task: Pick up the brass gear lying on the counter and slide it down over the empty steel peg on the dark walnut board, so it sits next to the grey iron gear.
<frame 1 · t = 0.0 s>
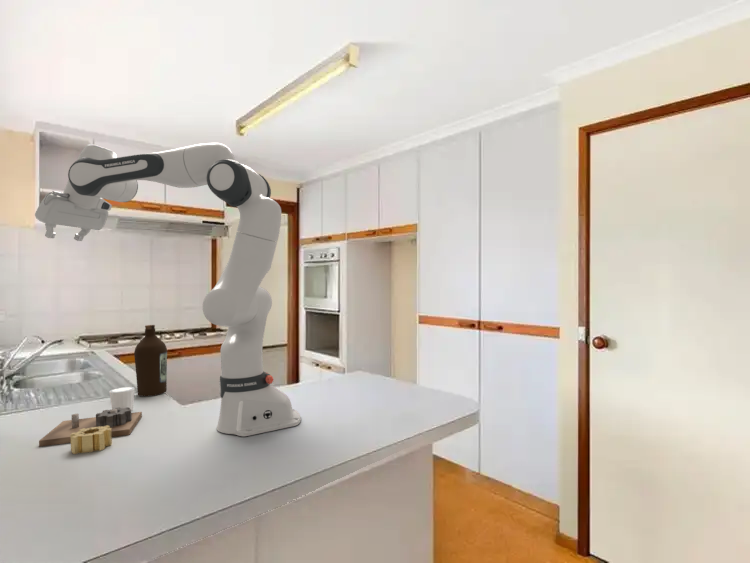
hand: (63, 238, 125), 54 cm above the countertop, tool tilted 30°, fingers open, 8 cm apart
gear board: (95, 430, 116), on the countertop
white short cylinder: (122, 411, 133), on the countertop
brass gear: (91, 447, 103), on the countertop
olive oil: (152, 393, 154), on the countertop
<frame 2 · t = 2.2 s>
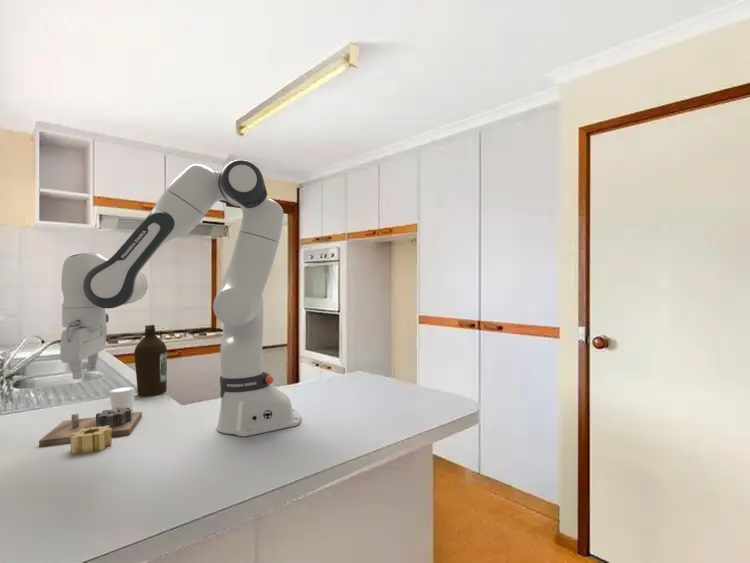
hand: (85, 374, 104), 18 cm above the countertop, tool pointing down, fingers open, 8 cm apart
nothing on the countertop moved.
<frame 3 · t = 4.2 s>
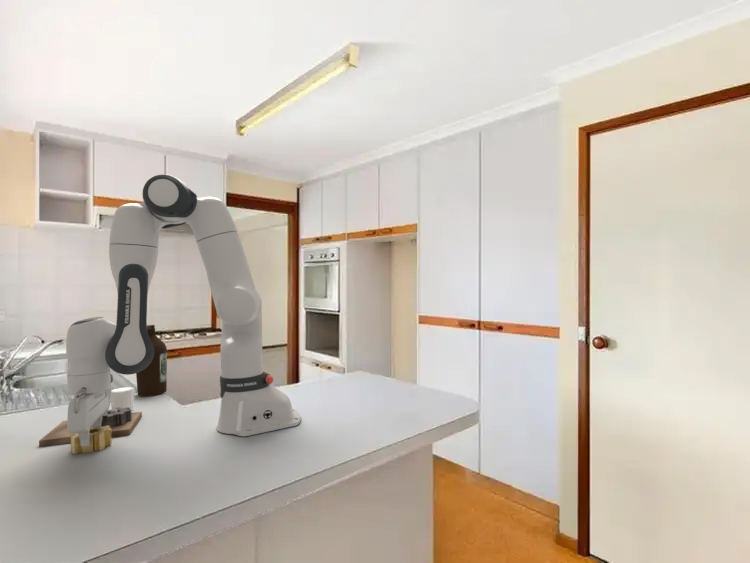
hand: (91, 439, 103), 2 cm above the countertop, tool pointing down, fingers closed on brass gear, 6 cm apart
brass gear: (91, 447, 103), on the countertop, touching gripper
everything else where it was.
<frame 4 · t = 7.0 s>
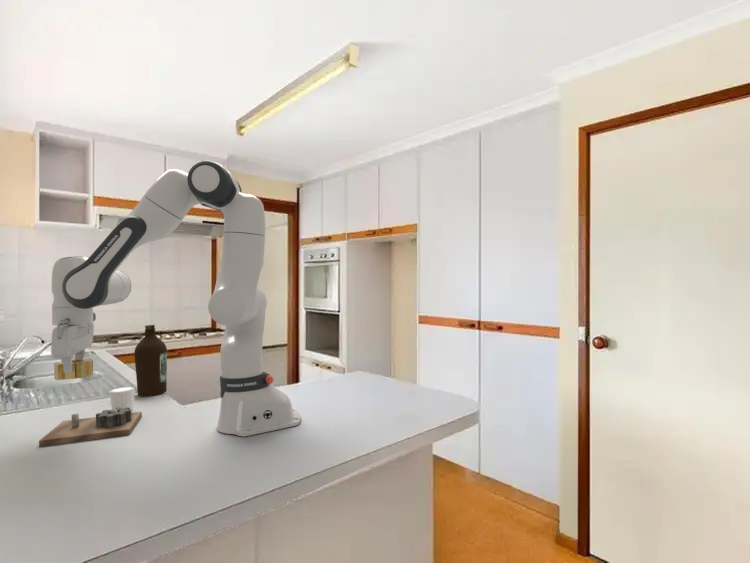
hand: (73, 369, 112), 18 cm above the countertop, tool pointing down, fingers closed on brass gear, 6 cm apart
brass gear: (74, 376, 112), point 16 cm above the countertop, touching gripper
everything else where it was.
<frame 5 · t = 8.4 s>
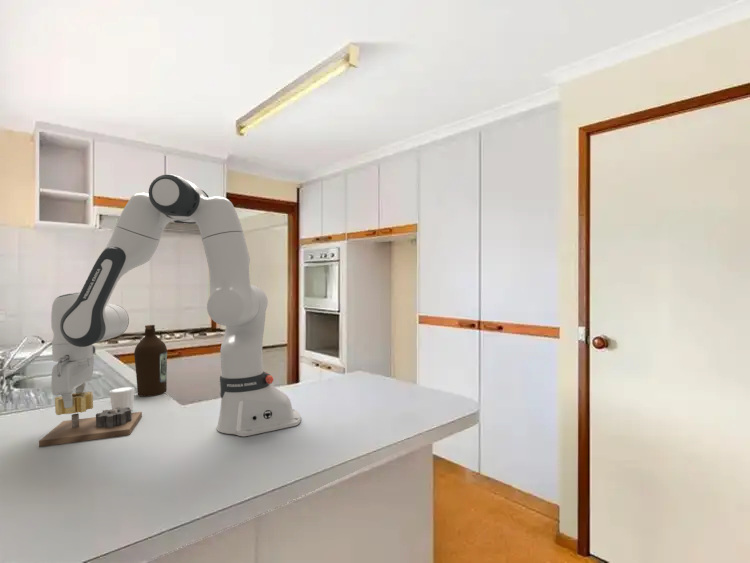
hand: (74, 403, 114), 8 cm above the countertop, tool pointing down, fingers closed on brass gear, 6 cm apart
brass gear: (74, 410, 114), point 6 cm above the countertop, touching gripper
everything else where it was.
when the fingers open (4 cm above the countertop, at t = 9.6 s): brass gear stays where it is, resting on gear board.
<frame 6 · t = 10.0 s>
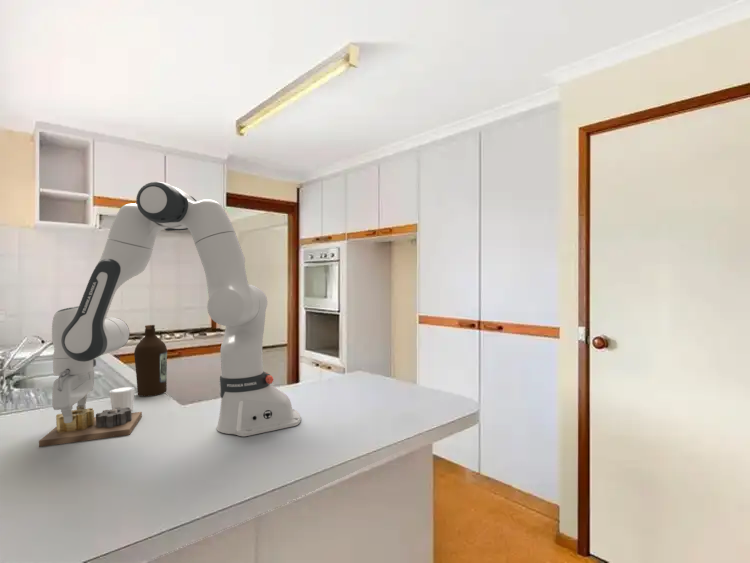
hand: (75, 416, 114), 4 cm above the countertop, tool pointing down, fingers open, 8 cm apart
brass gear: (75, 427, 114), point 1 cm above the countertop, touching gear board
everything else where it was.
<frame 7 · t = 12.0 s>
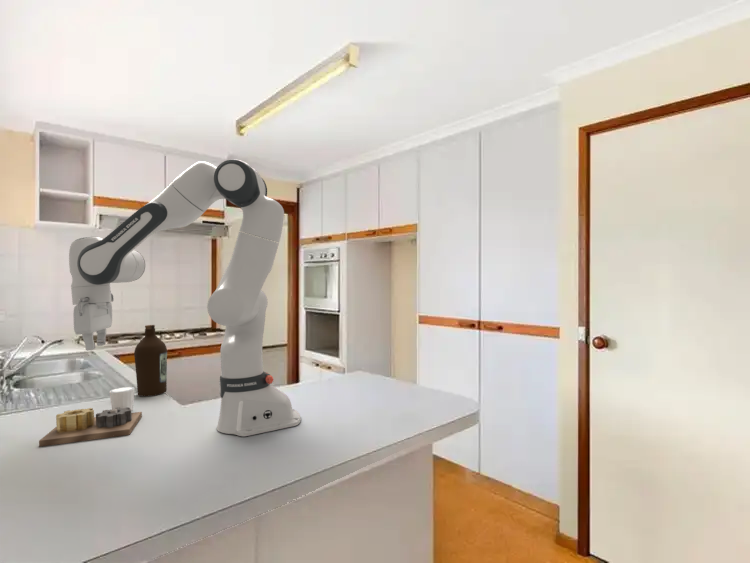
hand: (96, 347, 114), 23 cm above the countertop, tool pointing down, fingers open, 8 cm apart
nothing on the countertop moved.
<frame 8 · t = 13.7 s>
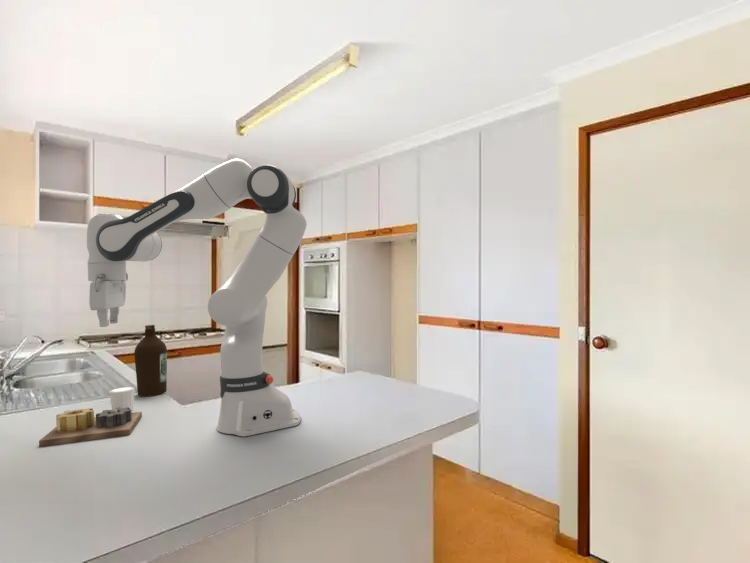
hand: (109, 325, 114), 29 cm above the countertop, tool pointing down, fingers open, 8 cm apart
nothing on the countertop moved.
at the end: brass gear 0.1 cm from the target spot, point 1.5 cm above the countertop; brass gear tilted 0°; the gripper is holding nothing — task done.
